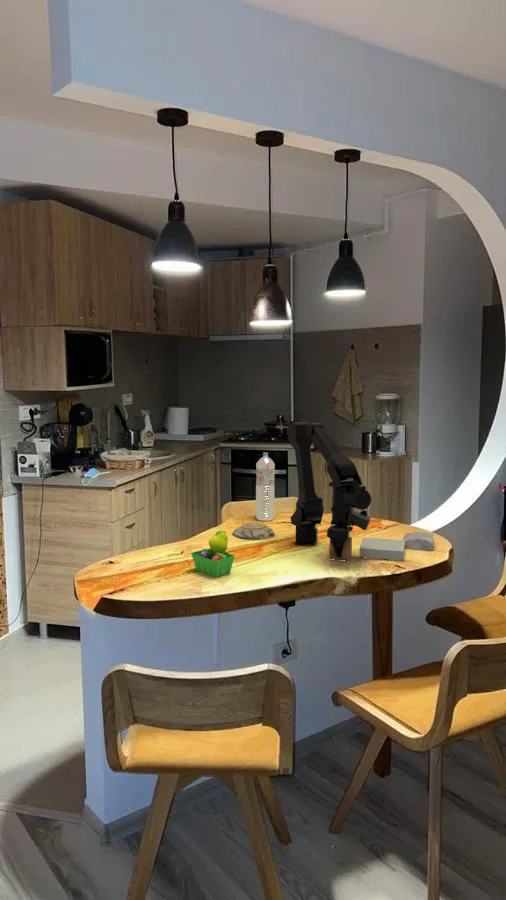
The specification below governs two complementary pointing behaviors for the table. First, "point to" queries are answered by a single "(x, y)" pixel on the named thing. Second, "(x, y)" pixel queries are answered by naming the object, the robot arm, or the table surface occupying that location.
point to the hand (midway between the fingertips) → (340, 553)
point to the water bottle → (265, 489)
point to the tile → (382, 548)
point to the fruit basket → (214, 556)
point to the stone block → (419, 541)
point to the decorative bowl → (253, 531)
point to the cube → (345, 553)
